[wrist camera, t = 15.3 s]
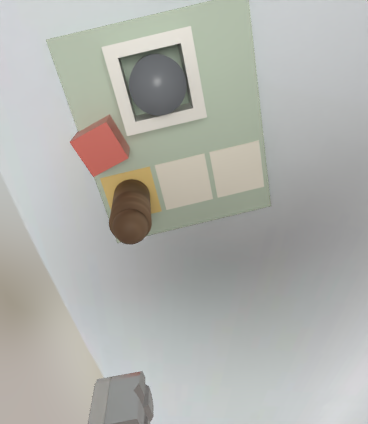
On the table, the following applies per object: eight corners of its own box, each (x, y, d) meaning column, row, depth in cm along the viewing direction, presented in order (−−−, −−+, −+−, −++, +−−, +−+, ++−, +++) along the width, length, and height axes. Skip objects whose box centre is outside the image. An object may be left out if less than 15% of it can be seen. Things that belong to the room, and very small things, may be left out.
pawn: (145, 176, 34) (147, 211, 27) (153, 208, 36) (156, 249, 29) (109, 182, 34) (101, 220, 27) (118, 215, 36) (113, 257, 28)
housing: (186, 27, 29) (190, 25, 26) (201, 111, 32) (207, 117, 29) (105, 46, 29) (101, 46, 26) (128, 128, 32) (127, 136, 29)
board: (244, -7, 29) (248, -9, 28) (267, 202, 38) (271, 206, 37) (48, 40, 29) (45, 39, 28) (118, 238, 38) (117, 243, 37)
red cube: (109, 114, 31) (106, 121, 28) (129, 147, 33) (128, 158, 30) (76, 132, 32) (69, 142, 29) (98, 164, 33) (93, 177, 30)
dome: (175, 48, 29) (179, 48, 25) (186, 101, 31) (191, 108, 27) (124, 60, 29) (121, 62, 25) (138, 112, 31) (137, 121, 27)
